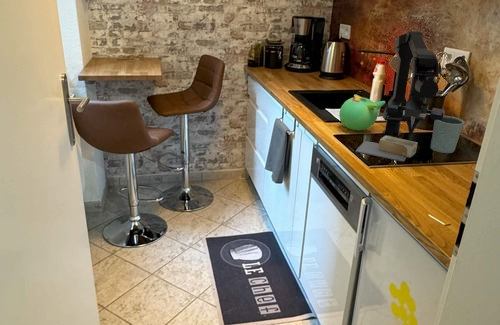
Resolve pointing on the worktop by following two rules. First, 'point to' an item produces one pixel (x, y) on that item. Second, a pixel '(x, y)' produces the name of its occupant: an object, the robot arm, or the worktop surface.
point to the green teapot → (359, 113)
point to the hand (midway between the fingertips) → (410, 134)
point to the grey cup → (446, 134)
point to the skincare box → (398, 146)
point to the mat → (378, 151)
